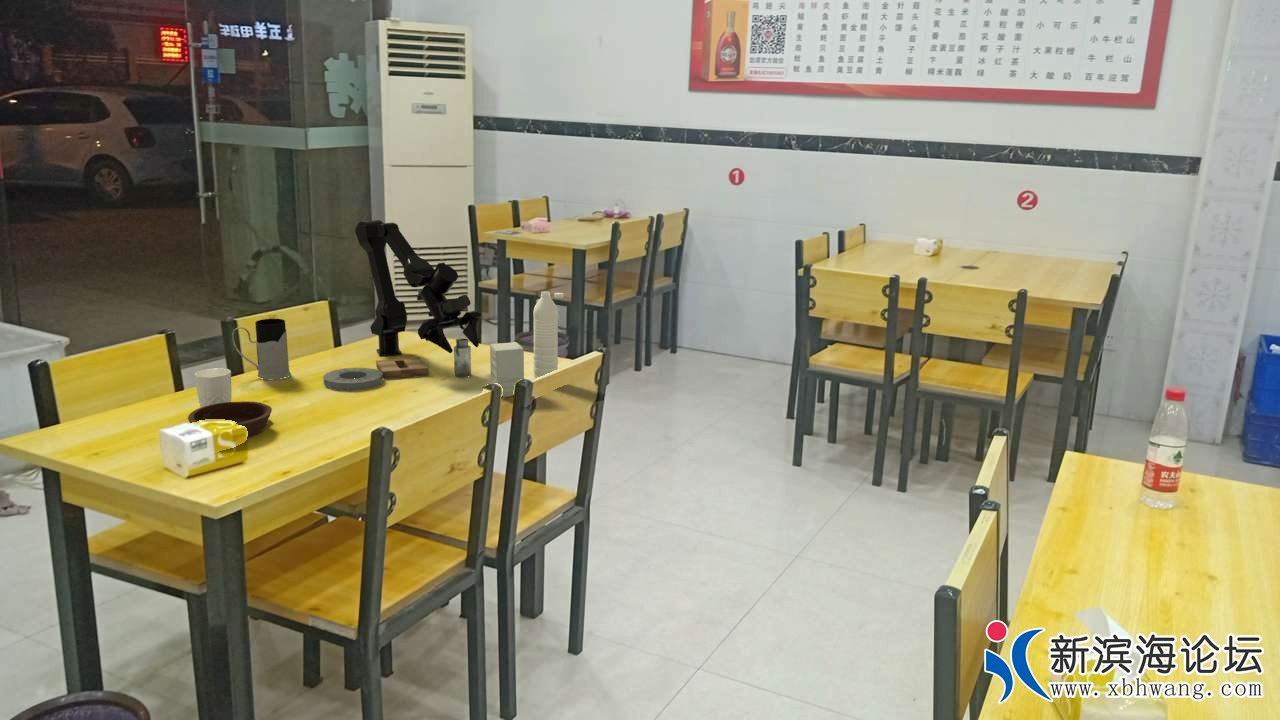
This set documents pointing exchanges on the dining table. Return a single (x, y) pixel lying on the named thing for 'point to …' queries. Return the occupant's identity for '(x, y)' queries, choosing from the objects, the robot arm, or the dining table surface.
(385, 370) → the block
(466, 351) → the grey small bottle
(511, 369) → the supplement box
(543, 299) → the water bottle
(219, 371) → the white cup
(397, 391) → the dining table surface
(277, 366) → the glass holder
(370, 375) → the round bore
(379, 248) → the robot arm
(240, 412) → the dish
